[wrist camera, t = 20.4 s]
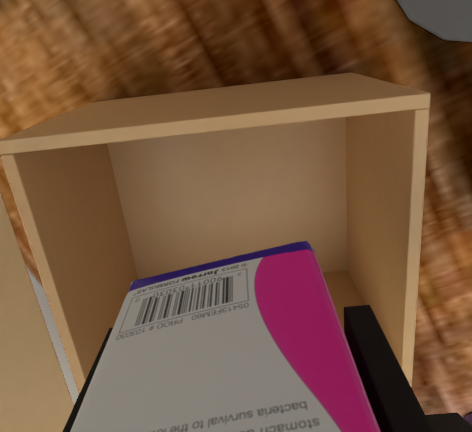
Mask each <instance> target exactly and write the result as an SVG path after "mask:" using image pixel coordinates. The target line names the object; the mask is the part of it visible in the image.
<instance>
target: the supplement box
mask: <svg viewBox="0 0 472 432" xmlns="http://www.w3.org/2000/svg"><path fill="white" fill-rule="evenodd" d="M70 432H381V431H380V428H379V426H378V423H377V420H376V418H375V415H374V413H373V410H372V408H371V405H370V402H369V400H368V397H367V394H366V391H365V389H364V386H363V383H362V380H361V378H360V375H359V372H358V370H357V367H356V364H355V361H354V358H353V356H352V353H351V350H350V347H349V344H348V342H347V339H346V336H345V333H344V331H343V328H342V326H341V323H340V320H339V317H338V315H337V312H336V309H335V306H334V304H333V301H332V298H331V295H330V293H329V290H328V287H327V284H326V281H325V279H324V276H323V273H322V270H321V268H320V265H319V263H318V260H317V257H316V254H315V251H314V249H313V247H312V246H311V244H310V243H309V242H308V241H300V242H295V243H290V244H286V245H282V246H278V247H273V248H269V249H264V250H260V251H256V252H252V253H248V254H243V255H238V256H234V257H231V258H227V259H222V260H218V261H214V262H210V263H206V264H202V265H198V266H193V267H189V268H185V269H181V270H177V271H172V272H168V273H164V274H160V275H156V276H152V277H148V278H143V279H139V280H135V281H132V282H131V284H130V288H129V291H128V293H127V295H126V297H125V300H124V302H123V304H122V307H121V309H120V312H119V315H118V317H117V319H116V322H115V324H114V327H113V329H112V332H111V334H110V337H109V339H108V341H107V344H106V346H105V348H104V351H103V353H102V355H101V358H100V360H99V363H98V365H97V368H96V370H95V373H94V375H93V377H92V380H91V382H90V384H89V387H88V389H87V392H86V394H85V397H84V399H83V402H82V404H81V407H80V409H79V412H78V414H77V417H76V419H75V421H74V424H73V426H72V428H71V431H70Z"/></svg>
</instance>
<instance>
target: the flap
mask: <svg viewBox="0 0 472 432" xmlns="http://www.w3.org/2000/svg"><path fill="white" fill-rule="evenodd" d="M73 407H74V404H73V402H72V399H71V396H70V393H69V390H68V387H67V384H66V381H65V378H64V375H63V372H62V370H61V367H60V364H59V361H58V358H57V355H56V352H55V349H54V346H53V343H52V341H51V338H50V335H49V332H48V329H47V326H46V323H45V320H44V317H43V315H42V312H41V309H40V306H39V303H38V300H37V297H36V294H35V291H34V288H33V285H32V283H31V280H30V277H29V274H28V271H27V268H26V265H25V262H24V259H23V256H22V253H21V251H20V248H19V245H18V242H17V239H16V236H15V233H14V230H13V227H12V224H11V222H10V219H9V216H8V213H7V210H6V207H5V204H4V201H3V198H2V195H1V193H0V432H63V429H64V427H65V425H66V423H67V421H68V418H69V416H70V414H71V412H72V410H73Z"/></svg>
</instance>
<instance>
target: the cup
mask: <svg viewBox="0 0 472 432" xmlns="http://www.w3.org/2000/svg"><path fill="white" fill-rule="evenodd" d="M397 1H398V3H399V4H400V6H401V7H402V9H403V11H404V12H405V14H406V15H407V17H408V18H409V20H411V21H413V22H414V23H416V24H418V25H419V26H421V27H423V28H424V29H426V30H428V31H429V32H431V33H433V34H435V35H436V36H438V37H440V38H441V39H443V40H452V41H466V42H472V0H397Z"/></svg>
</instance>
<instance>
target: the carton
mask: <svg viewBox="0 0 472 432" xmlns="http://www.w3.org/2000/svg"><path fill="white" fill-rule="evenodd" d="M430 96H431V94H430V93H428V92H424V91H421V90H417V89H413V88H409V87H405V86H402V85H398V84H394V83H390V82H386V81H382V80H379V79H375V78H371V77H367V76H363V75H360V74H356V73H352V72H350V73H342V74H333V75H324V76H315V77H307V78H298V79H289V80H281V81H272V82H263V83H254V84H246V85H237V86H228V87H220V88H211V89H202V90H194V91H185V92H176V93H167V94H159V95H150V96H141V97H133V98H124V99H115V100H106V101H98V102H92V103H89V104H87V105H84V106H82V107H79V108H77V109H74V110H72V111H69V112H67V113H64V114H62V115H59V116H57V117H54V118H52V119H50V120H47V121H45V122H42V123H40V124H37V125H35V126H32V127H30V128H27V129H25V130H22V131H20V132H17V133H15V134H13V135H10V136H8V137H5V138H3V139H0V158H1V161H2V164H3V167H4V170H5V173H6V176H7V179H8V182H9V185H10V188H11V191H12V194H13V197H14V200H15V203H16V206H17V209H18V212H19V215H20V218H21V221H22V224H23V227H24V230H25V233H26V236H27V239H28V242H29V245H30V248H31V251H32V254H33V257H34V260H35V263H36V266H37V269H38V272H39V275H40V278H41V281H42V284H43V287H44V290H45V293H46V296H47V299H48V302H49V305H50V308H51V311H52V314H53V317H54V320H55V323H56V326H57V329H58V332H59V335H60V338H61V341H62V344H63V347H64V350H65V353H66V356H67V359H68V362H69V365H70V368H71V371H72V374H73V377H74V380H75V383H76V386H77V389H78V392H79V394H80V392H81V390H82V387H83V385H84V383H85V381H86V379H87V376H88V374H89V372H90V370H91V368H92V365H93V363H94V361H95V359H96V357H97V354H98V352H99V350H100V348H101V346H102V343H103V341H104V339H105V337H106V335H107V332H108V330H109V328H113V327H114V324H115V322H116V319H117V317H118V315H119V312H120V309H121V307H122V304H123V302H124V300H125V297H126V295H127V293H128V291H129V288H130V284H131V282H132V281H135V280H139V279H143V278H148V277H152V276H156V275H160V274H164V273H168V272H172V271H177V270H181V269H185V268H189V267H193V266H198V265H202V264H206V263H210V262H214V261H218V260H222V259H227V258H231V257H234V256H238V255H243V254H248V253H252V252H256V251H260V250H264V249H269V248H273V247H278V246H282V245H286V244H290V243H295V242H300V241H308V242H309V243H310V244H311V246H312V247H313V249H314V251H315V254H316V257H317V260H318V263H319V265H320V268H321V270H322V273H323V276H324V279H325V281H326V284H327V287H328V290H329V293H330V295H331V298H332V301H333V304H334V306H335V309H336V312H337V315H338V317H339V320H340V323H341V326H342V328H343V331H344V307H349V306H361V305H370V306H371V308H372V310H373V312H374V314H375V316H376V318H377V320H378V322H379V324H380V326H381V328H382V330H383V332H384V334H385V336H386V338H387V340H388V342H389V344H390V346H391V348H392V350H393V352H394V354H395V356H396V358H397V360H398V362H399V364H400V366H401V368H402V370H403V372H404V374H405V376H406V378H407V380H408V382H409V384H410V386H411V387H412V382H411V381H412V372H413V357H414V341H415V326H416V310H417V295H418V279H419V264H420V249H421V233H422V218H423V202H424V187H425V171H426V156H427V140H428V125H429V107H430Z"/></svg>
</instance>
